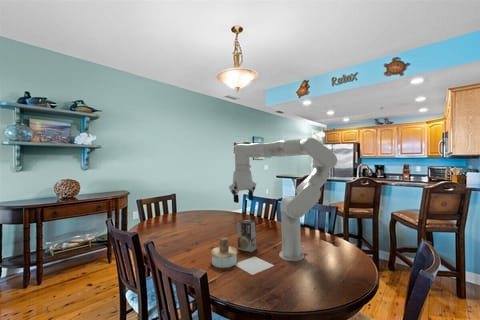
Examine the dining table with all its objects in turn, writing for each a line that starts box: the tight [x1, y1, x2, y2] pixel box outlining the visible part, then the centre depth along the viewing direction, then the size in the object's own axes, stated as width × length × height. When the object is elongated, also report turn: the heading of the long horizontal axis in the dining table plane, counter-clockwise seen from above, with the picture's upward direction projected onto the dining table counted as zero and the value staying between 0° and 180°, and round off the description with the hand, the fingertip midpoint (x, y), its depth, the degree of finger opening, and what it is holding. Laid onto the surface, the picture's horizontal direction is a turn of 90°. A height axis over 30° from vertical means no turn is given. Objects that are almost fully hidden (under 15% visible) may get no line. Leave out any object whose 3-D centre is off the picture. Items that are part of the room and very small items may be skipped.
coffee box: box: [236, 219, 257, 253], centre depth 136 cm, size 9×6×16 cm
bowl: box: [211, 254, 238, 269], centre depth 119 cm, size 12×12×5 cm
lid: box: [210, 237, 238, 258], centre depth 119 cm, size 13×13×7 cm
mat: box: [234, 256, 275, 276], centre depth 115 cm, size 14×14×1 cm
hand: (243, 201), depth 123 cm, fingers open, 9 cm apart
